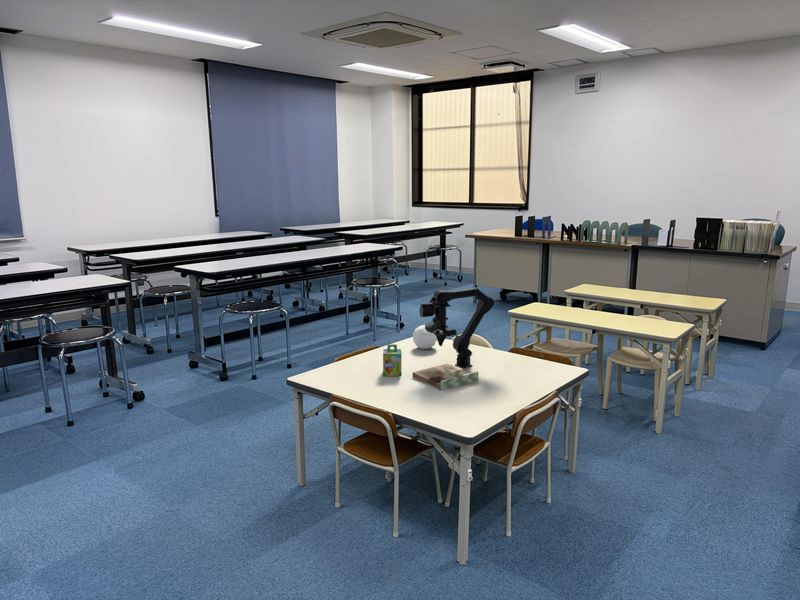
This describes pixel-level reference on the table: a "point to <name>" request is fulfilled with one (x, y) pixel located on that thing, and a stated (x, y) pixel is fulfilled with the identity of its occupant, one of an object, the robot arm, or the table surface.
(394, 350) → the chalk box
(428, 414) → the table surface
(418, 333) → the geodesic sphere
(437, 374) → the board
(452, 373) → the block
